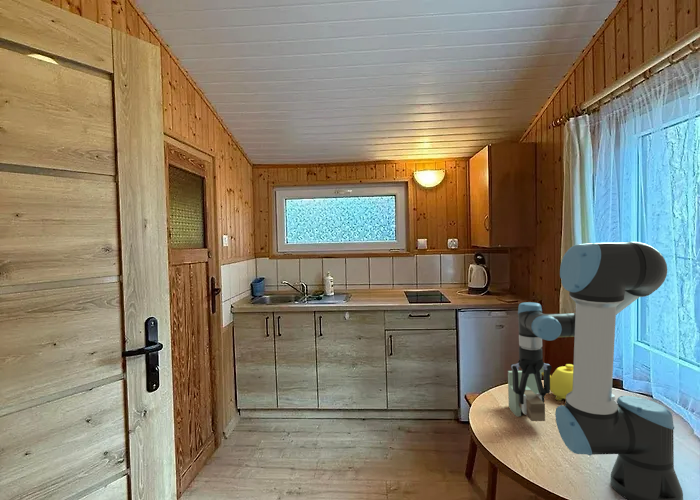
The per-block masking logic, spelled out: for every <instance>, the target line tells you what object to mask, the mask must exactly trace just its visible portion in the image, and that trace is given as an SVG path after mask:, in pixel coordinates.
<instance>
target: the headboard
mask: <svg viewBox="0 0 700 500" xmlns="http://www.w3.org/2000/svg"><path fill="white" fill-rule="evenodd" d="M541 372H544V369H543V367H542V368H541V370H540V375H541V376H540V377H541V378H542V374H541ZM521 376H522V370H518V381H519V385H520V381H521ZM507 385H508V386H507V389H508V393H507V394H508V395H507V396H508V407H509V409H510V411H511V412H512V413H513V414H514V416H515V417H521V416H522V409H521V408H520V407H519V394H516V393H515V392H514V391H513V374H512V370H507ZM525 390H532V391H533V392H534V393H535V394H536V393H539V391H538V387H537V383H536V380H535V376H534V374H529V377H528V379H527V383H526V388H525Z"/></svg>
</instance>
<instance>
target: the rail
mask: <svg viewBox="0 0 700 500" xmlns="http://www.w3.org/2000/svg"><path fill="white" fill-rule="evenodd" d="M524 394H525V395H526V407H527V414H525V415H526V416H527V418H528V419H529V420H530V422H545V421H546V404H545V401H544V402H543V401H542V400H541V399H540V398H539V397H538V396H537V395H536V394H535V393H534V392H533V391H532V390H525V392H524ZM519 407H520V408H521V409H522V404H520V403H519Z"/></svg>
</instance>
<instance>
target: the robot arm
mask: <svg viewBox="0 0 700 500" xmlns="http://www.w3.org/2000/svg"><path fill="white" fill-rule="evenodd" d="M560 262H561V263H560V267H559V268H560V269H559V277H560V279H561V281H560V282H561V285H562V288H563V289H565V290H566V291H568V292H569V297H570V298H571V299H572V300H573V301H574V302H575V312H570V313H543V309H542V305H541V304H540V303H538V302H533V301H532V302H531V301H528V302H526V301H525V302H521V303H519V304H518V307H517V308H518V309H517V317H518V323H517V324H518V345H519V347H518V358H519V359H518V361H517V363H514V364H513V363H512V364H510V368H511V371H512V374H513V391H514V392H515V393H516V394H519V403H520V404H522V410H521V413H522V414H523V415H526V414H527V407H526V395H525V394H524V392H525V388H526V383H527V379H528V377H529V374H534V376H535V380H536V383H537V387H538V391H539V393H536V395H537V396H538V397H539V398H540V399H541V400H542V401H543V402H544V403H545V397H546V395H547V394H548V395H549V394H550V393H551V390H550V375H551V370H552V368H553V367H552V365H550V364H549V363H545V362H544V361H543V340H545V341H555V340H556V339H558V338H573V337H574V341H573V343H574V347H573V364H572V365H573V391H571V392H569V393H568V394H567V395H566V399H565V405H564V404H560V405H558V406H556V408H555V411H554V412H555V413H554V415H555V422H556V426H557V429H558V433H559V435H560V437H561V440H562V442H563V443H564V444H565V446H566V447H567V449H568V450H569V451H571V452H572V453H573V454H575V455H587V456H592V455H617V457H616V459H615V462H614V464H613V467H612V469H611V472H610V484H611V487H612V489H613V490H614V491H615V492H616V493H618V494H619V495H620V496H621V497H623V498H624V499H626V500H684V492H683V488H682V486H681V483H680V481H679V478H678V475H677V473H676V471H675V468H674V467H675V461H674V450H675V449H674V446H675V445H674V444H675V443H674V430H675V425H674V417H673V414H672V412H671V410H669V409H668V408H667V407H666V406H664V405H662V404H660V403H658V402H656V401H652V400H650V399H646V398H643V397H639V396H632V395H620V396H618V397H617V399H616V401H615V400H613V399H612V394H613V376H614V357H615V353H614V352H615V341H616V340H615V337H616V320H617V319H616V317H617V315H618V314H619V313H621V312H623V310H625V309H626V308H627V307H629V306H630V305H631V304H632V303H634V302H635V301H636V300H637V299H640V298H645V297H648V296H650V295H652V294H653V293H654V292H655V291H657V290H658V289H659V288H660V287H661V286H662V285H663V284H664V282H665V281H666V278H667V276H668V264H667V261H666V259H665V258H664V255H663V254H662V253H661V252H660V251H659V250H658V249H656V248H655V247H653V246H651V245H649V244H647V243H643V242H640V241H628V242H627V241H625V242H587V243H577V244H574V245H572V246H571V247H569V248H568V249H567V250H566V252H565V253H564V255H563V257H562V259H561V261H560ZM542 367H543V369H544V376H543V381H542V374H541V375H540V370H541V368H542ZM520 369H521V371H522V376H521V381H520V385H519V381H518V371H520ZM540 376H541V377H540Z"/></svg>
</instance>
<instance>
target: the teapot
mask: <svg viewBox="0 0 700 500" xmlns="http://www.w3.org/2000/svg"><path fill="white" fill-rule="evenodd" d="M573 365H574V364H572V363H566V364H565V366H563V365H562V366H559V367H557V368H556V369H555V370H554V372H553V373H551V374H550V393H551V394H553V395H554V396H555V397H554V399H555V400H556V401H563V400H566V395H567V394H568V393H569V392H571V391H573ZM541 376H542V377H544V372H541Z"/></svg>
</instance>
